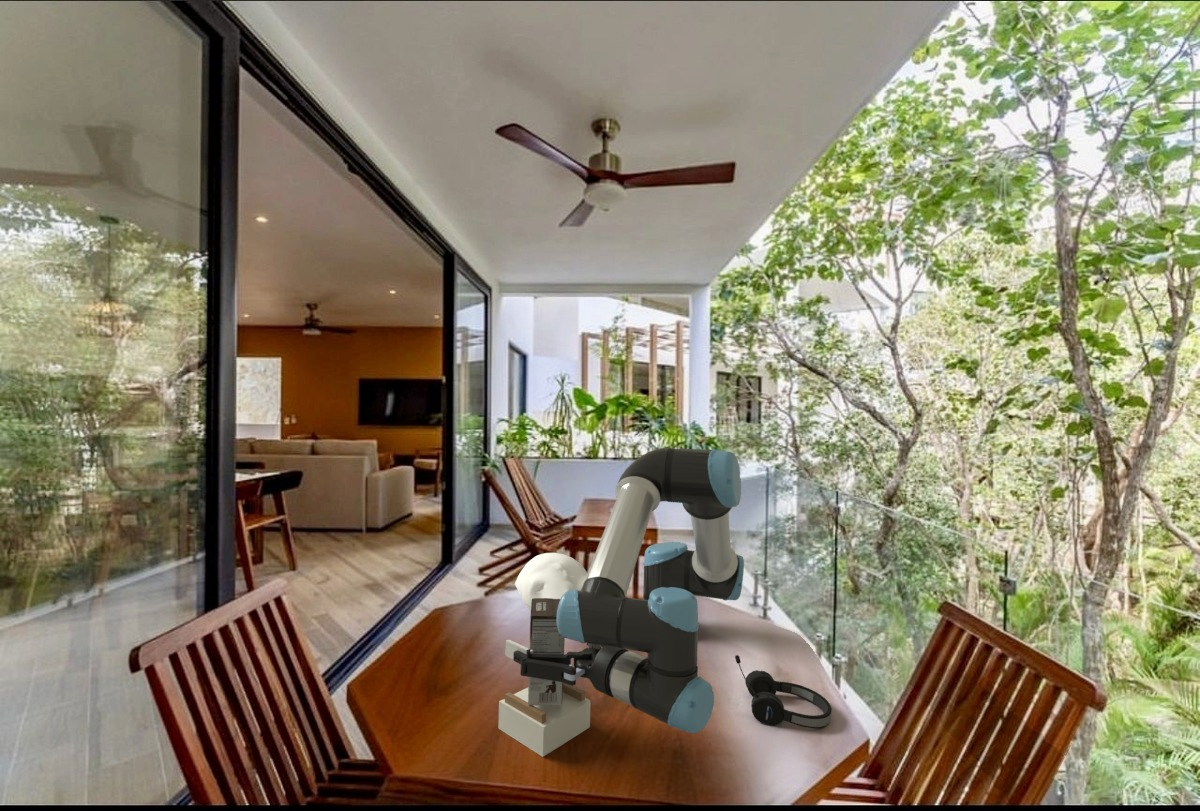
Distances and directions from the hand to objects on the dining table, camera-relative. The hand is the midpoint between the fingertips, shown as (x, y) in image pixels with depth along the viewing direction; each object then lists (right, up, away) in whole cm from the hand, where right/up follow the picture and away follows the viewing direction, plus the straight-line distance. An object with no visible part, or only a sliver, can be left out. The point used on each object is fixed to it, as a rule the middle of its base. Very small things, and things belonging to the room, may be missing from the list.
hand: (534, 636), depth 103 cm
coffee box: (+2, -10, -2) cm, 10 cm away
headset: (+49, -18, +6) cm, 53 cm away
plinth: (+2, -16, -2) cm, 16 cm away
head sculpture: (0, -17, +52) cm, 55 cm away
